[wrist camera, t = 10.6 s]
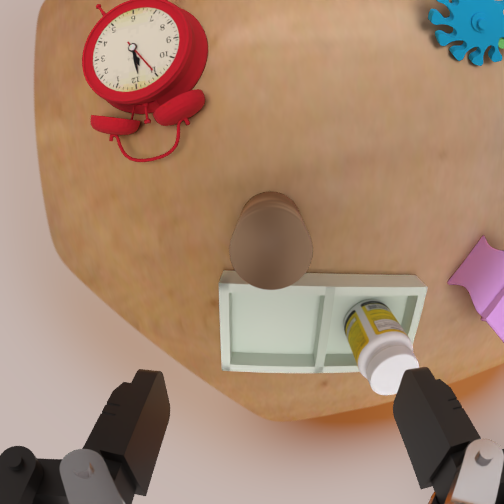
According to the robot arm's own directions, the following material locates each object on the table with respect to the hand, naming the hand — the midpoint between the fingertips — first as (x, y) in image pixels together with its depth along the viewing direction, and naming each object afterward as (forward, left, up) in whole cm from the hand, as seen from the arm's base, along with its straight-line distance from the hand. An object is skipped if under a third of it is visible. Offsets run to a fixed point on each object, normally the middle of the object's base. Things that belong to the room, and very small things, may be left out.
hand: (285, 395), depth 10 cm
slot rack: (-5, +8, -19) cm, 21 cm away
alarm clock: (+11, -14, -19) cm, 26 cm away
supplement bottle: (-9, +8, -18) cm, 21 cm away
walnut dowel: (0, -1, -19) cm, 19 cm away
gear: (-18, -21, -19) cm, 34 cm away
